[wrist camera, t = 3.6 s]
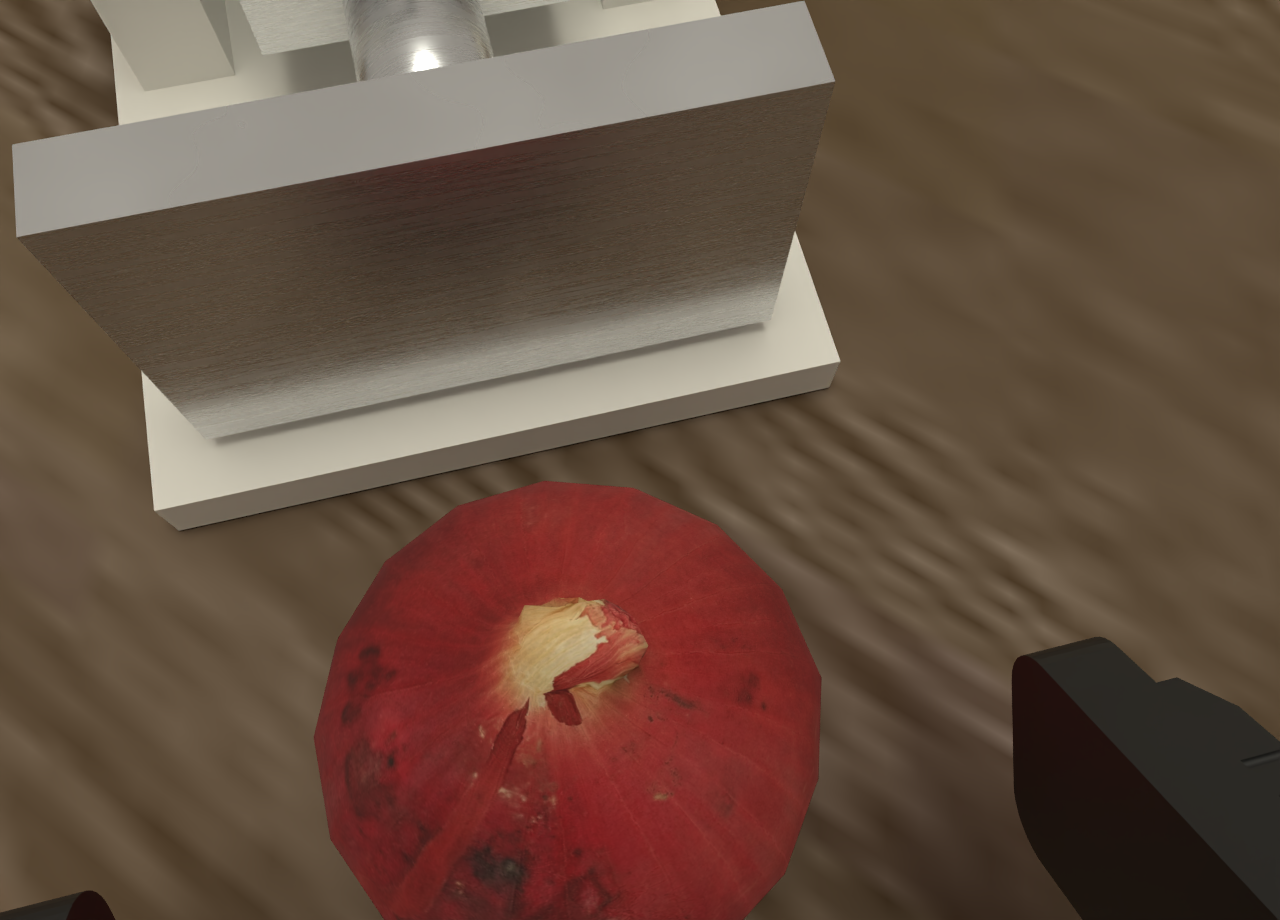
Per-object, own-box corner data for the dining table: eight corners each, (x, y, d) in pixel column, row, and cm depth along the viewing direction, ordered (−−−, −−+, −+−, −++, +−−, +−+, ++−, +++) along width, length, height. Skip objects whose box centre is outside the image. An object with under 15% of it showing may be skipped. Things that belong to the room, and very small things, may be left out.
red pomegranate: (672, 1050, 15) (725, 1215, 8) (314, 855, 16) (41, 832, 8) (832, 670, 17) (999, 503, 9) (505, 515, 18) (423, 248, 10)
